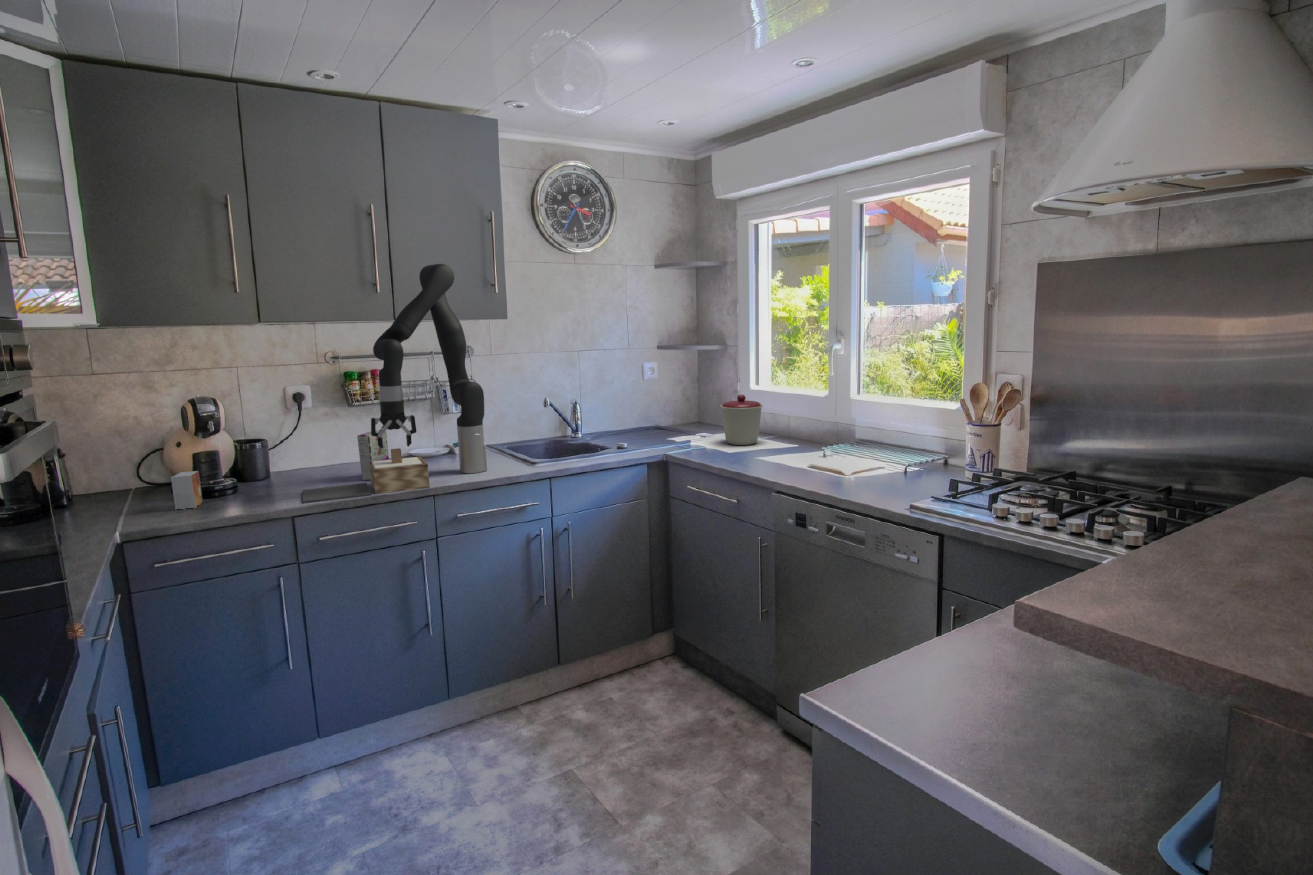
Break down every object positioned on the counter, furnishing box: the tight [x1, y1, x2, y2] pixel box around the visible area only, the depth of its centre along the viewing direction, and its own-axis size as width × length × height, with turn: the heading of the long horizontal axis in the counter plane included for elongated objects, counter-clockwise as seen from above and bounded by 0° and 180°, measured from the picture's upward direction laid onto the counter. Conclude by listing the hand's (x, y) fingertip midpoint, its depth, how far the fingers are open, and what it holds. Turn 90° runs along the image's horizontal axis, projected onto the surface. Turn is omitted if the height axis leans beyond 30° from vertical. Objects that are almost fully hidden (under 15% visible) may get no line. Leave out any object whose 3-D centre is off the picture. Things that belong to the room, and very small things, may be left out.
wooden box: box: [370, 456, 431, 495], centre depth 248 cm, size 17×16×8 cm
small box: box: [170, 470, 204, 510], centre depth 227 cm, size 8×6×10 cm
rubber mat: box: [302, 482, 372, 504], centre depth 240 cm, size 20×18×1 cm
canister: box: [719, 394, 764, 446], centre depth 311 cm, size 18×18×21 cm
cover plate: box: [372, 448, 422, 469], centre depth 247 cm, size 15×13×6 cm
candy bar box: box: [356, 429, 390, 481], centre depth 263 cm, size 11×5×16 cm, turn 168°
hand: (395, 447), depth 246 cm, fingers open, 8 cm apart
